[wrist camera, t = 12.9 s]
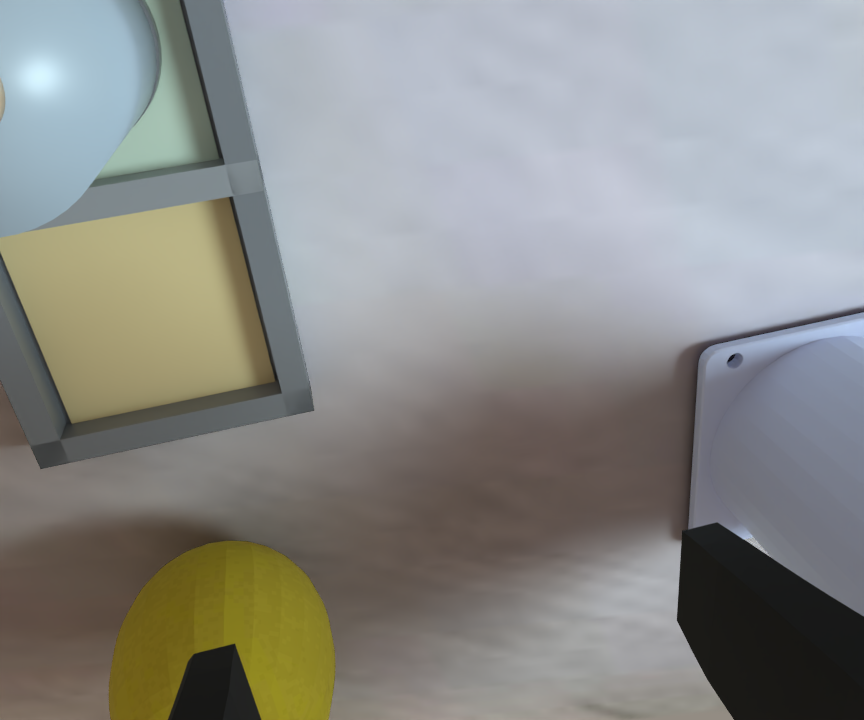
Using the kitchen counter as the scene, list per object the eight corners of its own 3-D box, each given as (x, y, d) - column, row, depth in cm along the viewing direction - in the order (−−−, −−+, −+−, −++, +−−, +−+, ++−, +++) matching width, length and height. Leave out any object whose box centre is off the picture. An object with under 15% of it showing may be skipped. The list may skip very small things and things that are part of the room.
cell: (133, -77, 15) (52, -109, 9) (181, 133, 17) (143, 229, 11) (-89, -60, 14) (-347, -82, 8) (-13, 156, 16) (-174, 273, 10)
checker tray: (188, -154, 15) (184, -163, 14) (310, 388, 21) (314, 410, 20) (-192, -112, 14) (-227, -118, 13) (51, 443, 20) (40, 468, 19)
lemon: (350, 578, 24) (392, 822, 17) (195, 652, 24) (174, 925, 17) (267, 454, 22) (278, 685, 15) (92, 538, 22) (19, 808, 15)
